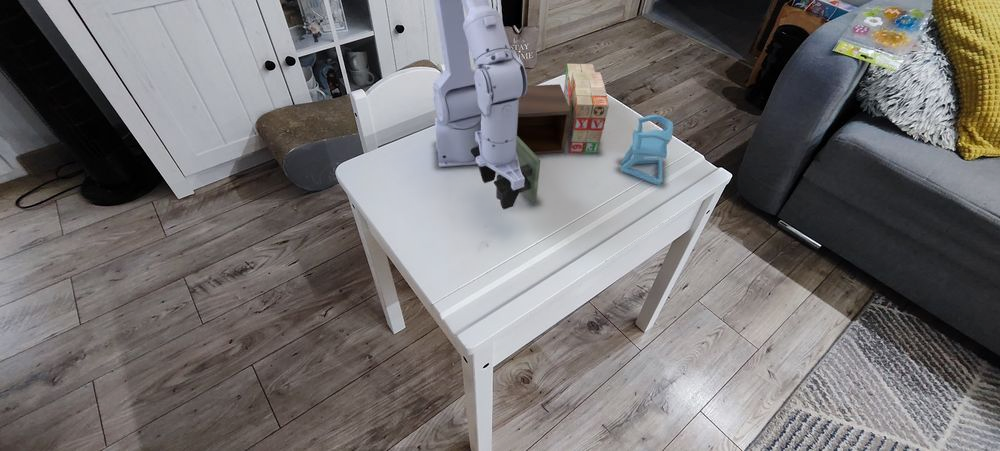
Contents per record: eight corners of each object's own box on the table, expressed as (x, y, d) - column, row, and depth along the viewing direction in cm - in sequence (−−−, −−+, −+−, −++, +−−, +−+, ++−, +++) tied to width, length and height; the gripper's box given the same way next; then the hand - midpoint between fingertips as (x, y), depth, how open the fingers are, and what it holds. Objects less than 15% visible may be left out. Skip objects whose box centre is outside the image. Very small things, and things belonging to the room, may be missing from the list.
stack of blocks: (562, 98, 112) (568, 50, 103) (587, 98, 112) (596, 51, 103) (569, 153, 98) (577, 103, 89) (598, 154, 98) (609, 104, 89)
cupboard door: (501, 215, 85) (503, 173, 77) (466, 169, 93) (464, 128, 86) (536, 201, 88) (540, 159, 80) (498, 158, 96) (499, 117, 88)
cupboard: (564, 153, 98) (570, 110, 90) (496, 157, 96) (497, 115, 89) (554, 125, 105) (560, 84, 97) (491, 129, 103) (491, 87, 95)
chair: (621, 155, 98) (635, 106, 89) (661, 161, 97) (678, 113, 88) (619, 178, 93) (633, 129, 84) (661, 185, 92) (679, 136, 83)
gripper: (458, 115, 76) (461, 176, 87) (497, 166, 68) (496, 226, 78) (495, 105, 79) (494, 165, 89) (538, 152, 70) (531, 213, 80)
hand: (497, 193), depth 84 cm, fingers open, 7 cm apart
